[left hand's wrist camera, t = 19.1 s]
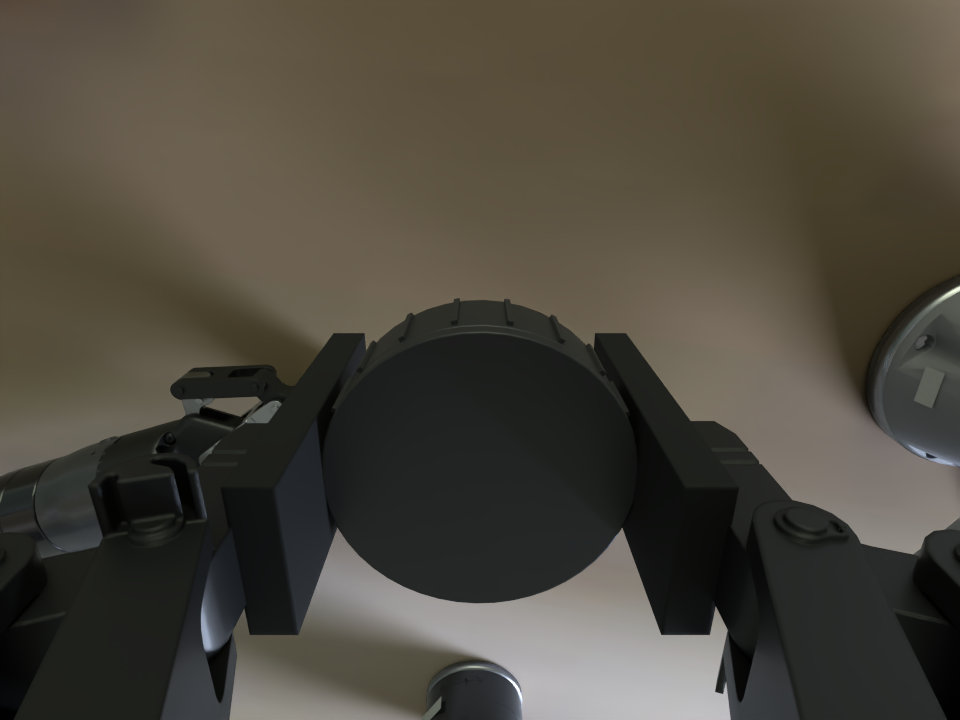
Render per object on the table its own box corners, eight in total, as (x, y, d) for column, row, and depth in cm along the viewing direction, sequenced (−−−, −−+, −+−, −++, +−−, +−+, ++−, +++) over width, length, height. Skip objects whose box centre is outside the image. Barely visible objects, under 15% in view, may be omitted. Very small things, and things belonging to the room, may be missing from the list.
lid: (387, 562, 13) (372, 629, 11) (301, 332, 11) (267, 370, 9) (634, 514, 13) (660, 577, 11) (593, 264, 11) (616, 291, 9)
